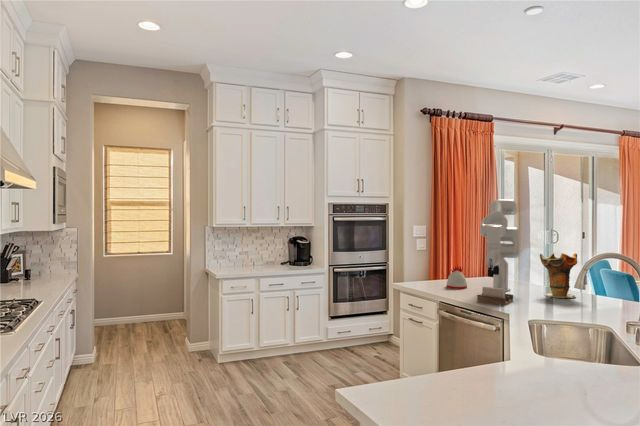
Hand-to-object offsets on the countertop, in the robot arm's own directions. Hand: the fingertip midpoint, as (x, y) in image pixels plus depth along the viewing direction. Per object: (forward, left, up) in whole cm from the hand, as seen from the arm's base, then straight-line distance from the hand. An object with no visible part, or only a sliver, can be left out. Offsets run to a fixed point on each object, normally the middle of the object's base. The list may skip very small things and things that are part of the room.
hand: (493, 275), depth 265 cm
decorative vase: (-47, +25, -16) cm, 55 cm away
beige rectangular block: (0, 0, -14) cm, 14 cm away
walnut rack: (-3, 0, -16) cm, 16 cm away
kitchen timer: (-36, -37, -16) cm, 54 cm away
